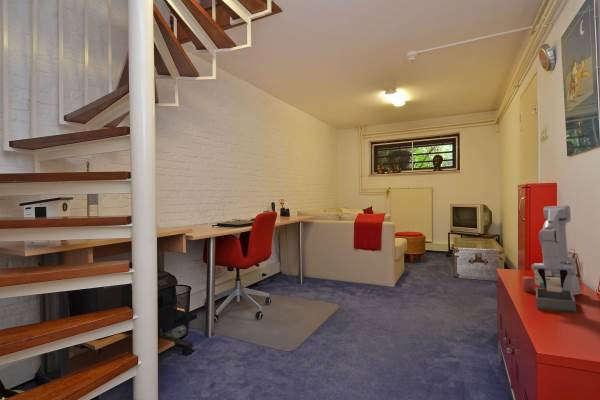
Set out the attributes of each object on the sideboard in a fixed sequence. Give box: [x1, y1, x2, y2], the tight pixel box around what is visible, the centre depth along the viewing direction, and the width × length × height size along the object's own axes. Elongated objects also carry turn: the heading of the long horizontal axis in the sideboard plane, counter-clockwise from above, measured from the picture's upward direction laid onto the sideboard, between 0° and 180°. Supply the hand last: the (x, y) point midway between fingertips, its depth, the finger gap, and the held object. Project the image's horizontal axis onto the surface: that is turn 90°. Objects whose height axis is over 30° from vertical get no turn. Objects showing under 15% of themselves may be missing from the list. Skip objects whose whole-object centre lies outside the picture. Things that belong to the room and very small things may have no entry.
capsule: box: [521, 276, 536, 293], centre depth 165 cm, size 5×5×7 cm
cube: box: [546, 277, 562, 292], centre depth 139 cm, size 5×5×5 cm
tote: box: [535, 287, 577, 314], centre depth 142 cm, size 17×13×5 cm
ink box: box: [532, 262, 553, 289], centre depth 171 cm, size 9×5×12 cm, turn 168°
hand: (553, 286), depth 139 cm, fingers closed on cube, 5 cm apart
